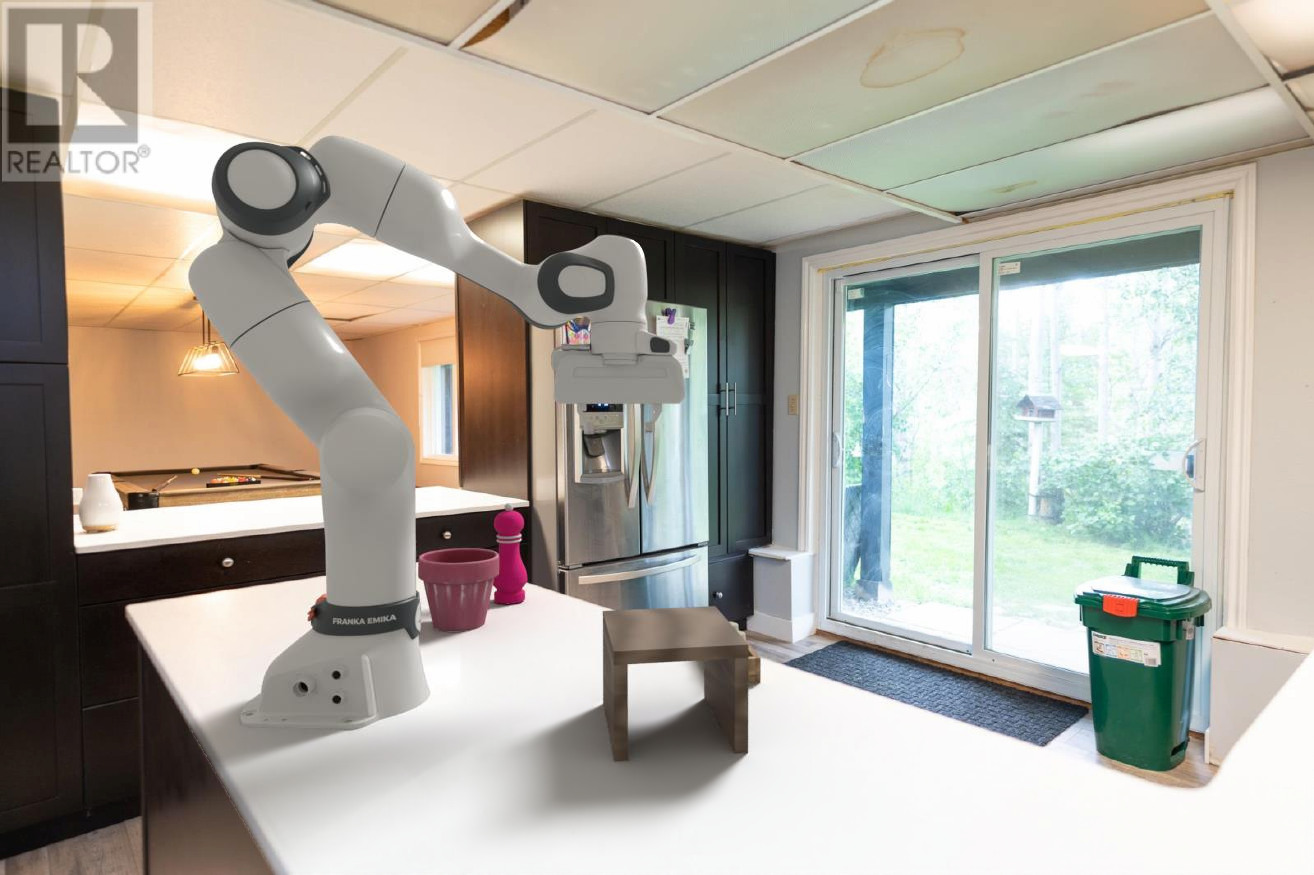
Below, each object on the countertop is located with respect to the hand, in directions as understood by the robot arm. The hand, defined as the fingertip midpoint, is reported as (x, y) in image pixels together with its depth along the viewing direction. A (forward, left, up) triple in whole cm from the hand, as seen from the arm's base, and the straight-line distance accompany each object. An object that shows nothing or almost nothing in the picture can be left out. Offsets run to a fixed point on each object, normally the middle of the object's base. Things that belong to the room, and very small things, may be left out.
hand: (619, 433), depth 110 cm
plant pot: (-27, +22, -35) cm, 50 cm away
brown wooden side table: (+3, -26, -35) cm, 44 cm away
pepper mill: (-19, +38, -35) cm, 55 cm away
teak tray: (+16, -4, -35) cm, 39 cm away
